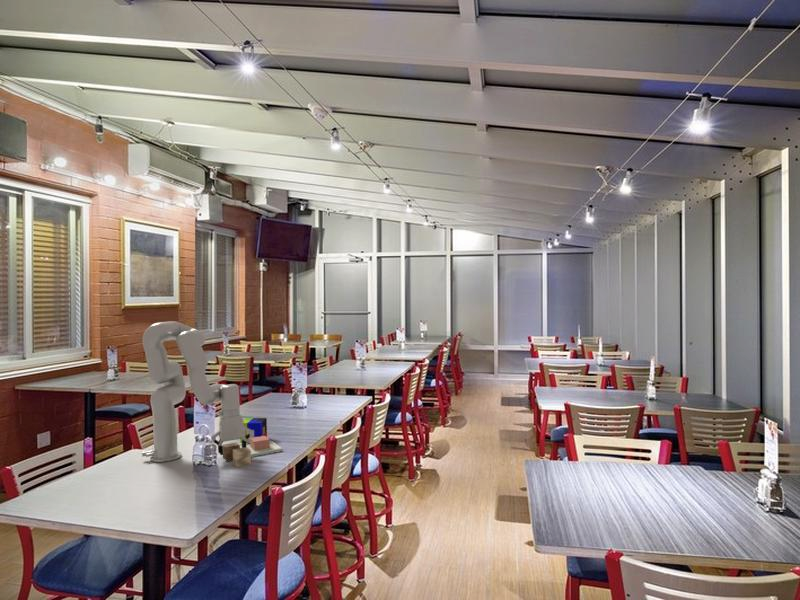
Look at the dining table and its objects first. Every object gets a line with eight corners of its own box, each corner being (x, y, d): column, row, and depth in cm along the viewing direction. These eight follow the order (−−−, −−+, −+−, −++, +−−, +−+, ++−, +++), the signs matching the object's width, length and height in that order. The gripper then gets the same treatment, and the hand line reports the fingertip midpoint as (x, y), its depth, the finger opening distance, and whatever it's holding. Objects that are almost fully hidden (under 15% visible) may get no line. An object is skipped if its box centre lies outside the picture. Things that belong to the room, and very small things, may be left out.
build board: (247, 457, 223) (246, 445, 223) (237, 448, 237) (237, 437, 236) (282, 451, 231) (282, 439, 231) (271, 442, 245) (271, 432, 245)
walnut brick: (225, 461, 218) (225, 448, 218) (222, 458, 223) (222, 444, 223) (240, 459, 221) (239, 445, 221) (236, 455, 226) (236, 442, 226)
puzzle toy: (261, 443, 244) (260, 423, 244) (240, 444, 245) (240, 423, 244) (267, 437, 254) (266, 417, 254) (247, 438, 255) (246, 418, 254)
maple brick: (236, 467, 211) (236, 453, 211) (233, 463, 216) (232, 449, 216) (251, 464, 214) (250, 450, 214) (247, 460, 219) (246, 447, 219)
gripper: (211, 417, 214) (213, 458, 214) (253, 411, 223) (254, 450, 224) (208, 414, 221) (210, 454, 221) (248, 408, 230) (250, 446, 230)
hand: (232, 452), depth 222 cm, fingers open, 9 cm apart
